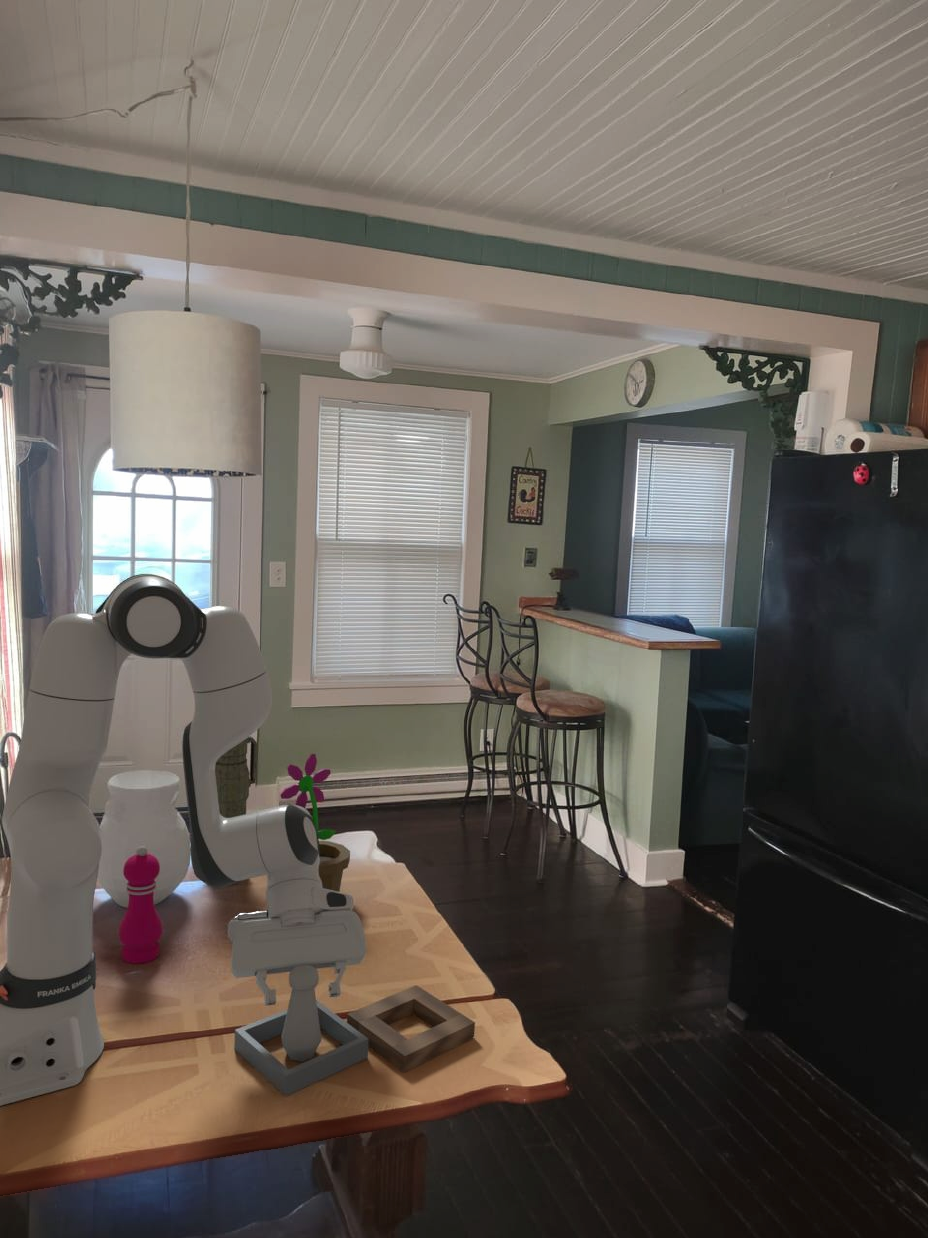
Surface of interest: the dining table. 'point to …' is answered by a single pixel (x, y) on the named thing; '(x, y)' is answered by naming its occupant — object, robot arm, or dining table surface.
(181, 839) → the pitcher
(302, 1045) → the salt shaker
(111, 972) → the dining table surface
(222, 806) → the thermos
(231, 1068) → the dining table surface
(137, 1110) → the dining table surface
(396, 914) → the dining table surface
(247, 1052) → the blue square frame
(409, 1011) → the brown square frame
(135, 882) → the pepper mill
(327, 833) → the flowerpot
